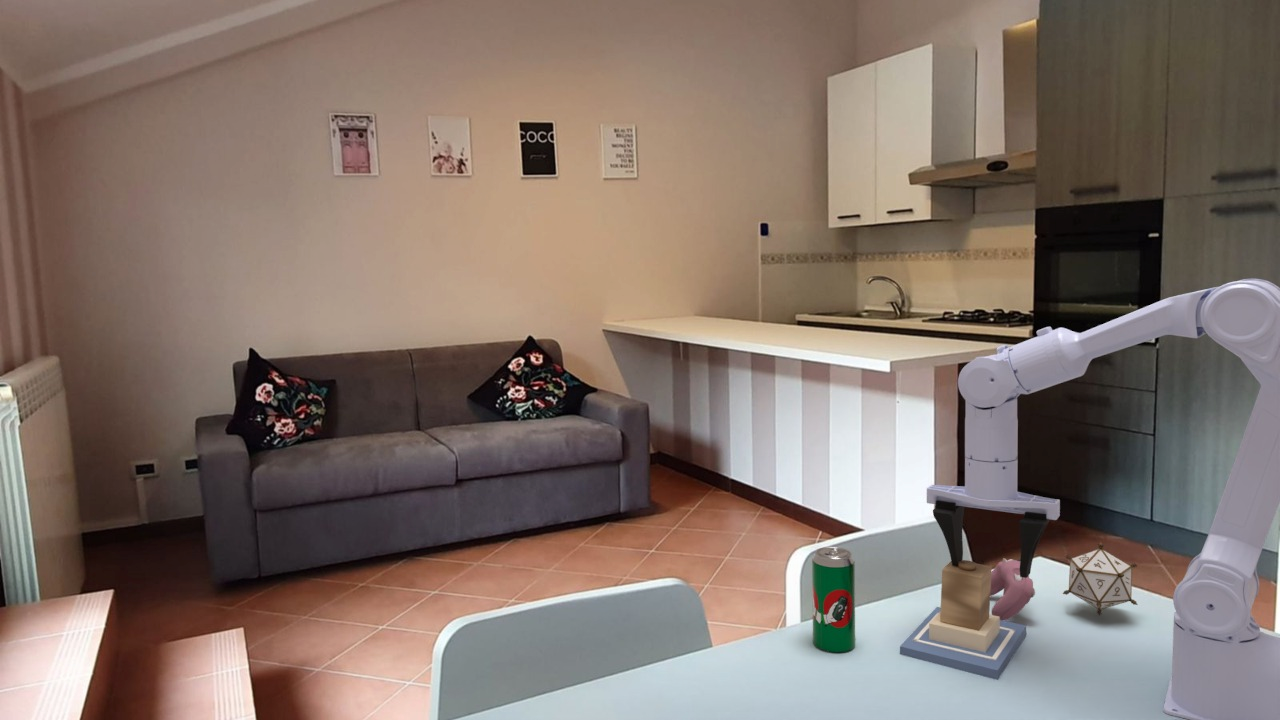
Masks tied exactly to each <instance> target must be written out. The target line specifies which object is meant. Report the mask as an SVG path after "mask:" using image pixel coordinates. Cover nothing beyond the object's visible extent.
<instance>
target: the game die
mask: <svg viewBox="0 0 1280 720" xmlns="http://www.w3.org/2000/svg"><path fill="white" fill-rule="evenodd" d="M1097 545H1098V548H1097V549H1094V550H1090V551H1088V552H1085V553H1082V554H1079V555H1077V556H1076V555H1075V556H1073V557H1071V555H1069V554H1064V556H1065V559H1067V560H1069V575H1068V577H1069V578H1068V589H1066V590H1063V593H1062V594H1063V595H1066V596H1067V595H1069V594H1070V593H1071V594H1072V595H1073V596H1075V597H1077V598H1079V599H1081V600H1082V601H1084V602H1085V603H1087V604H1089V605H1090V606H1092V607H1094V608H1095V609H1097V610H1096V614H1097V615H1098V617H1099V616H1101V615H1102V612H1103V611H1102V610H1104V609H1106V608H1111V607H1114V606H1118V605H1122V604H1125V603H1128V602H1130V604H1132V605H1137V606H1138V603H1137V601H1136V600H1135V599H1132V590H1133V589H1132V587H1133V585H1132V584H1133V581H1132V579H1133V568H1137V566H1138V565H1139V563H1136V562H1133V563H1131V564H1129V563H1128V562H1125V561H1124V560H1122V559H1121V558H1119V557H1117V556H1116V555H1113V554H1112V553H1111V552H1108V550H1105V549H1103V548H1104V544H1103V543H1102V541H1100V542H1099V543H1098V544H1097Z"/></svg>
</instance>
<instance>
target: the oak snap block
mask: <svg viewBox="0 0 1280 720" xmlns="http://www.w3.org/2000/svg"><path fill="white" fill-rule="evenodd" d="M992 568H993V566H989V565H986V564H982V563H981V564H980V563H976V562H974V561H971V560H967V559H964V560H961V561H959V562H958V566H954V565H952V562H951V561H949V562H948V563H947V565H945V566H944V567H943V568H942V570H941V589H940V590H941V593H940V608H941V613H940V621H942V622H946V623H950V624H954V625H957V626H961V627H965V628H969V629H973V630H977V631H979V630H980V629H981V628H982V626H983V625H984V624H985V622H986V621H987V620H988V619H989V614H990V608H991V596H990V590H991V572H992V571H993V569H992Z"/></svg>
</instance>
